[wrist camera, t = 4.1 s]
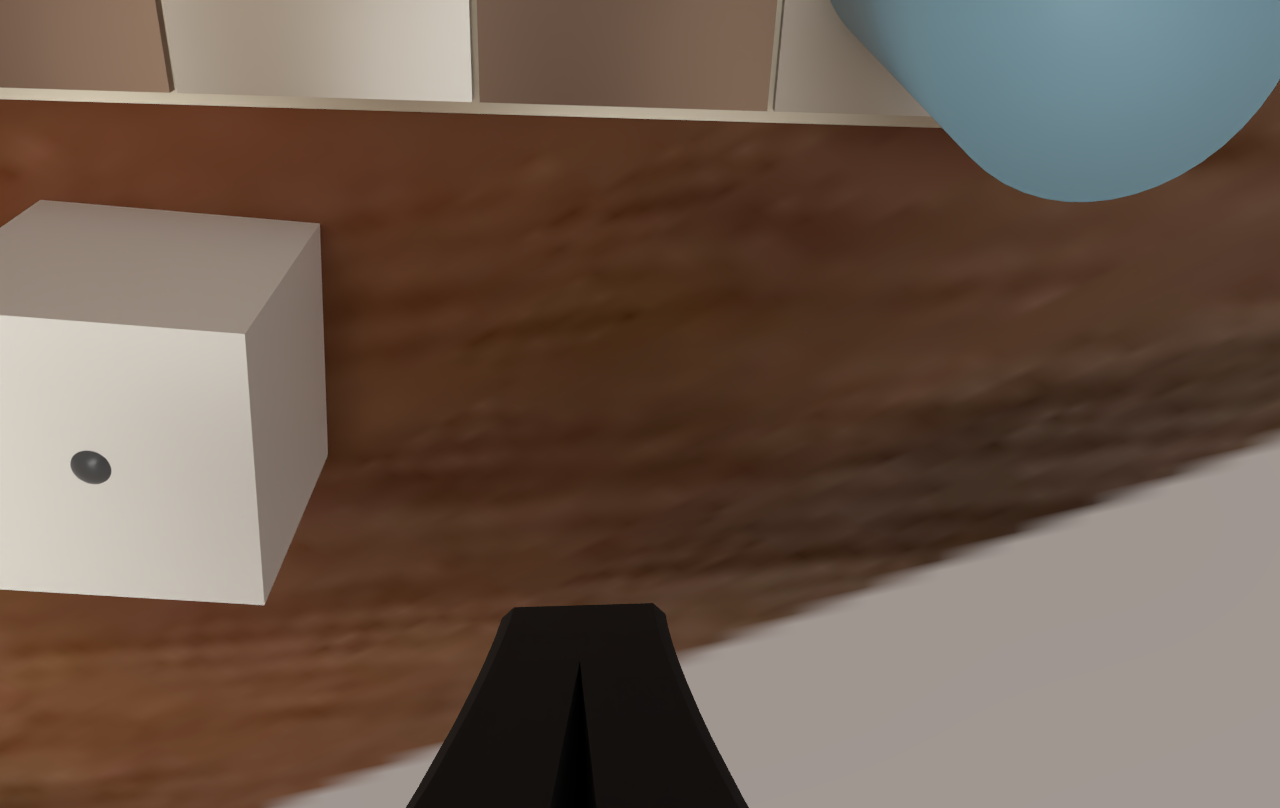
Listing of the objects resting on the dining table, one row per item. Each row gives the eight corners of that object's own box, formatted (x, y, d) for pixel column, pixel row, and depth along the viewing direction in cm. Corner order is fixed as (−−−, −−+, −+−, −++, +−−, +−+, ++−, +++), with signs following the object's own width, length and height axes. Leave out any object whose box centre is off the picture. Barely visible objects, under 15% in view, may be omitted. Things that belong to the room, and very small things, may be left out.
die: (320, 221, 16) (242, 337, 13) (329, 457, 18) (263, 615, 15) (35, 197, 16) (-127, 308, 13) (74, 439, 18) (-57, 596, 14)
